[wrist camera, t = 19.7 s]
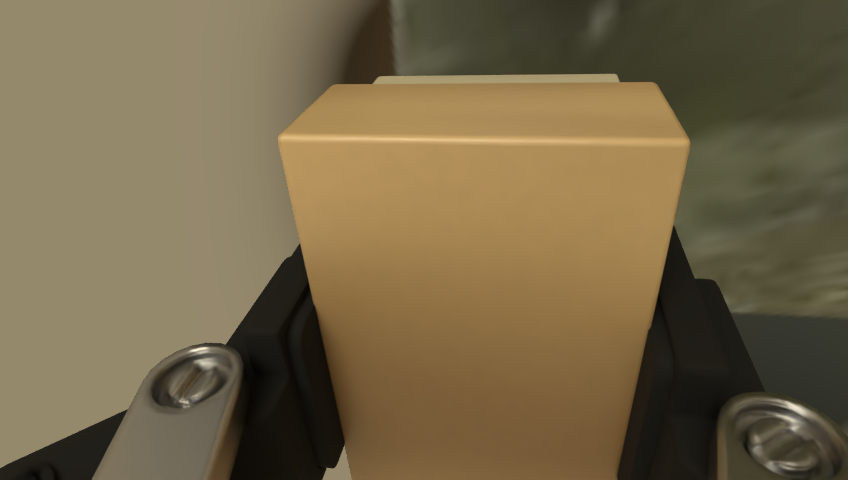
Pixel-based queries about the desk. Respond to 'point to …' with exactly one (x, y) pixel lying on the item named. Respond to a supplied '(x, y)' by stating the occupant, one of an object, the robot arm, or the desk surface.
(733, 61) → the desk surface
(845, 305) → the desk surface
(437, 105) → the tan rectangular brick
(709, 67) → the desk surface
